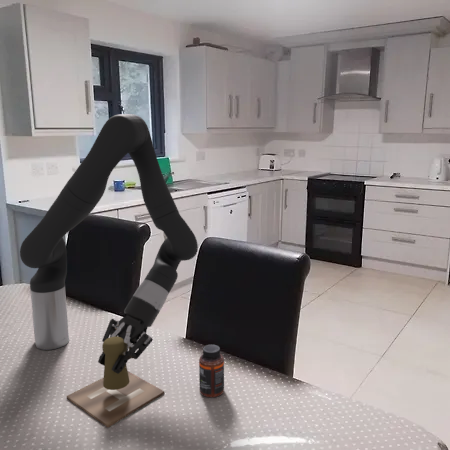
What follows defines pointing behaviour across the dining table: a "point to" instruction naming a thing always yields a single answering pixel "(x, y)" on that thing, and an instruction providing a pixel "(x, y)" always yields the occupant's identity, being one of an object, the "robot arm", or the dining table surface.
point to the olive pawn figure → (112, 351)
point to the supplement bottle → (211, 371)
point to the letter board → (114, 399)
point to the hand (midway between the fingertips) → (108, 367)
